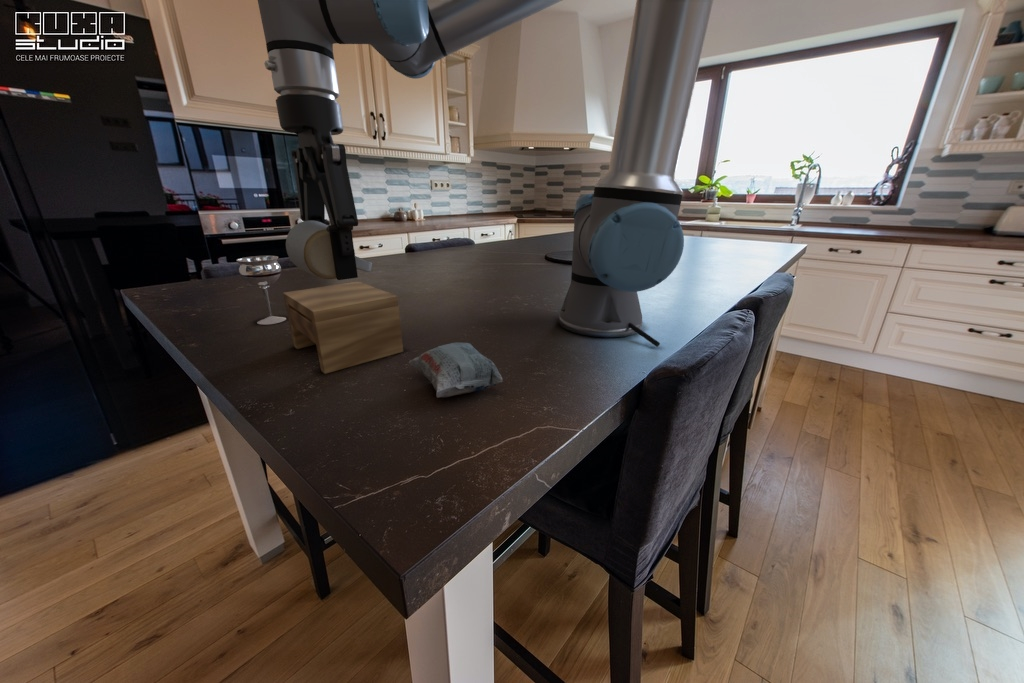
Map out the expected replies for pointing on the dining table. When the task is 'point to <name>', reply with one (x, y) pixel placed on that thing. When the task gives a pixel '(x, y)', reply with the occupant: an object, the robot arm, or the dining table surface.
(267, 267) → the wineglass
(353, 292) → the oak stool
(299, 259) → the ceramic mug
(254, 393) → the dining table surface
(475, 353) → the packaged food
